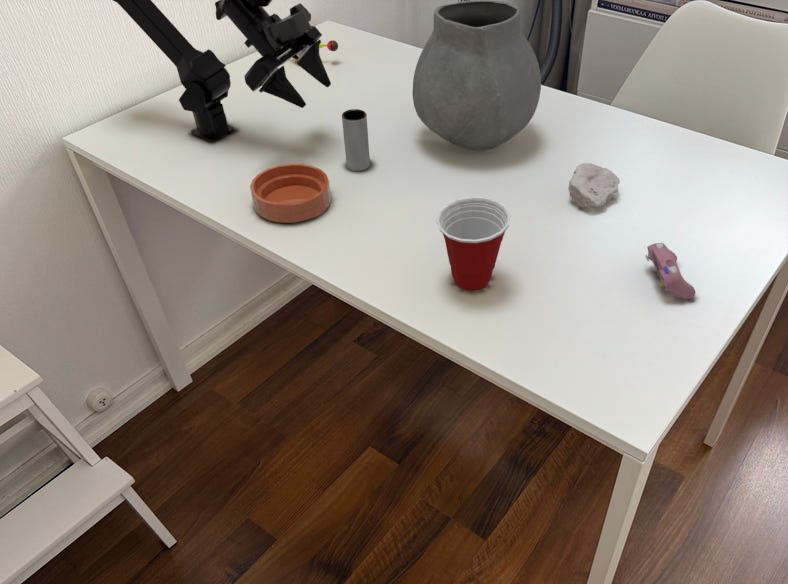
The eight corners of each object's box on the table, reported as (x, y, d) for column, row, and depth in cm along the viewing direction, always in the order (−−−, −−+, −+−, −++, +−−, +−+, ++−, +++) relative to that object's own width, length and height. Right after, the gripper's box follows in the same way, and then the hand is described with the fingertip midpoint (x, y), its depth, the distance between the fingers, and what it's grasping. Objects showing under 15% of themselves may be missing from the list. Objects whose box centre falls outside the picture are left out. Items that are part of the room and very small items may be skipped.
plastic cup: (425, 268, 107) (424, 204, 99) (485, 252, 110) (489, 189, 102) (453, 310, 101) (455, 245, 92) (516, 291, 104) (524, 227, 95)
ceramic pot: (496, 103, 148) (506, -22, 130) (556, 153, 133) (576, 20, 115) (395, 125, 141) (390, -3, 123) (446, 181, 126) (449, 43, 108)
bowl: (238, 207, 120) (234, 187, 117) (292, 175, 127) (289, 155, 124) (293, 234, 114) (289, 214, 111) (346, 198, 122) (344, 179, 119)
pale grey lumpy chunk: (627, 175, 122) (616, 180, 113) (613, 209, 125) (601, 216, 116) (582, 159, 124) (568, 162, 116) (570, 193, 127) (555, 199, 119)
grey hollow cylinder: (372, 169, 129) (369, 118, 121) (349, 173, 128) (344, 121, 120) (367, 157, 132) (363, 107, 124) (344, 161, 131) (339, 110, 123)
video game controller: (649, 270, 110) (638, 240, 105) (676, 259, 108) (667, 227, 104) (668, 310, 103) (658, 280, 98) (698, 299, 102) (689, 267, 97)
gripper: (246, 10, 106) (315, 91, 111) (306, -24, 118) (366, 50, 123) (216, 53, 114) (281, 127, 119) (275, 17, 126) (332, 85, 131)
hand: (317, 95), depth 123 cm, fingers open, 9 cm apart
